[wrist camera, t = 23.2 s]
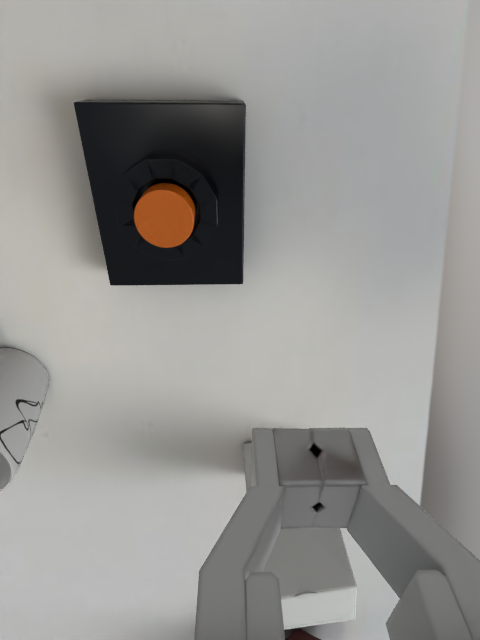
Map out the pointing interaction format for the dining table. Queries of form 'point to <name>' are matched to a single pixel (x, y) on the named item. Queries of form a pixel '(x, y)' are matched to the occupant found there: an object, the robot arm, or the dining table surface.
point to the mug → (18, 407)
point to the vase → (300, 635)
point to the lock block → (167, 167)
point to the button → (165, 215)
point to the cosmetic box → (310, 572)
